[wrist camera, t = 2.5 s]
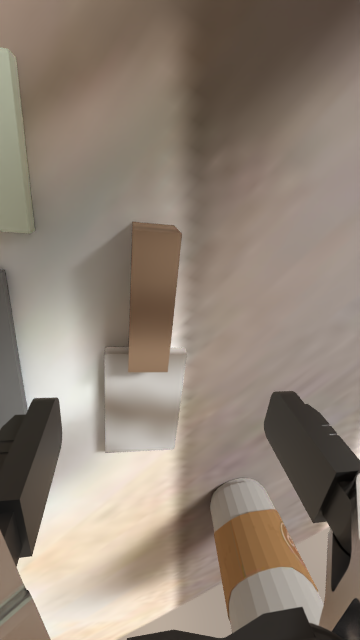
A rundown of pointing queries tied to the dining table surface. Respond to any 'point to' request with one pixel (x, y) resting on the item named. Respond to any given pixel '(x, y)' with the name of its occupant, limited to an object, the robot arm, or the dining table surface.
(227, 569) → the coffee cup
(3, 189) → the board
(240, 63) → the dining table surface
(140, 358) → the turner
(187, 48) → the dining table surface
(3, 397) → the mat
